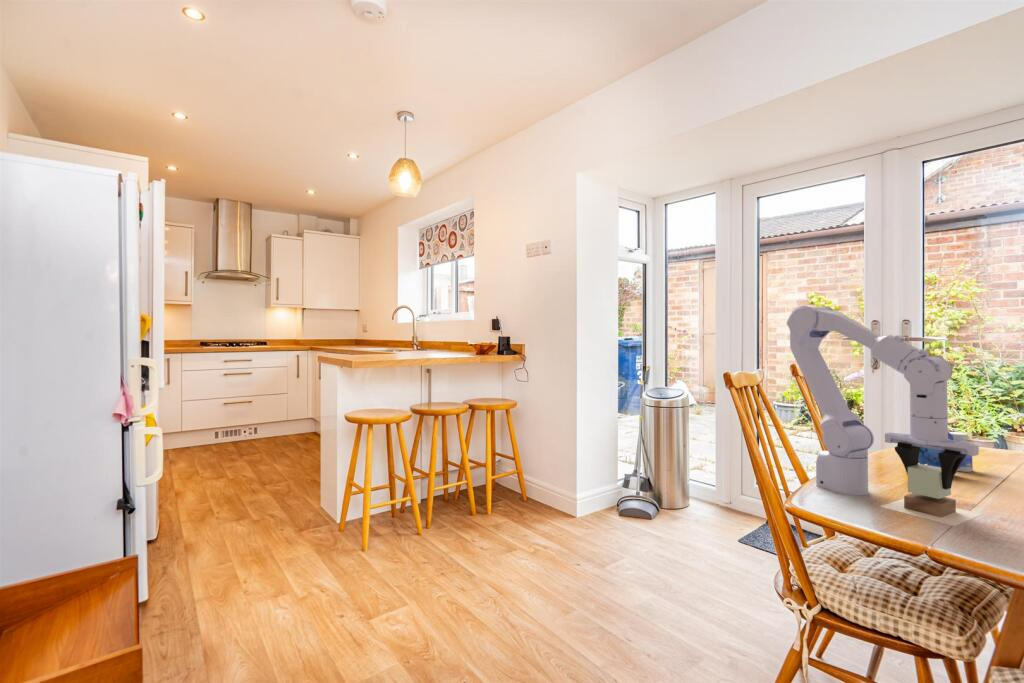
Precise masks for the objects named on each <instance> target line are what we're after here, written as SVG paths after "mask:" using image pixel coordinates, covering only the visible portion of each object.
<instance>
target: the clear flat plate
mask: <svg viewBox="0 0 1024 683" xmlns="http://www.w3.org/2000/svg"><path fill="white" fill-rule="evenodd" d="M879 507H880V508H883V509H887V510H892V511H895V512H899V513H902V514H907V515H910V516H915V517H918V518H922V519H926V520H929V521H932V522H937V523H942V524H944V525H945V524H946V525H949V526H953V527H955V526H957V525H960V524H963V523H966V522H967V521H970V520H973V519H975V518H978V517H979V516H982V515H983V513H979V512H975V511H970V510H966V509H963V508H959V507H956V512H955V513H952V514H950V515H947V516H944V517H942V518H941V517H937V516H933V515H929V514H925V513H921V512H917V511H913V510H909V509H905V508H904V498H902V499H899V500H895V501H892V502H888V503H885V504H883V505H880V506H879Z"/></svg>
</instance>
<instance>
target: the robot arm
mask: <svg viewBox="0 0 1024 683" xmlns="http://www.w3.org/2000/svg"><path fill="white" fill-rule="evenodd" d="M786 325H787V327H788V329H789V344H790V345H789V346H790V347H789V348H790V351H791V354H792V355H793V357H794V359H795V361H796V364H797V365H798V368H799V369H800V371H801V373H802V375H803V378H804V380H805V382H806V384H807V386H808V387H809V390H810V392H811V394H812V396H813V398H814V400H815V403H816V404H817V407H818V409H819V411H820V413H821V414H822V418H821V421H820V423H819V427H820V429H821V431H822V443H823V446H825V448H826V449H827V450H821V451H820V452H819V453H818V454H817V458H816V461H815V462H816V463H815V468H816V469H815V470H816V472H815V474H816V475H815V476H816V478H815V479H816V480H815V481H816V484H815V485H816V486H815V488H822V489H826V490H830V491H833V492H836V493H837V494H838V493H840V494H843V495H850V496H867V495H868V494H869V457H868V455H869V452H868V451H869V449H870V448H871V447H872V446H873V444H874V441H875V439H874V438H875V437H874V434H873V432H872V430H871V429H870V428H869V427H868V426H867V425H865V423H864V422H863V420H861V417H860V416H859V415H858V414H856V413H855V412H854V411H852V410H851V409H850V408H849V406H848V404H847V402H846V401H845V399H844V397H843V395H842V393H841V391H840V389H839V387H838V385H837V383H836V381H835V378H834V377H833V375H832V373H831V371H830V369H829V367H828V365H827V363H826V361H825V360H824V357H823V355H822V353H821V351H820V349H819V347H820V345H821V343H822V342H823V340H824V339H825V338H826V336H828V335H829V334H830V333H831V332H836V333H839V334H840V335H843V336H845V337H846V338H848V339H850V340H852V341H855V342H856V343H858V344H860V345H862V346H864V347H867V348H868V349H870V353H871V356H872V358H874V359H875V360H878V361H879V362H880V363H883V364H885V365H886V366H888V367H890V368H892V369H893V370H895V371H897V372H899V373H900V374H901V375H903V377H904V379H905V380H906V381H907V382H908V383H909V427H910V428H909V434H908V433H898V432H891V431H890V432H889V431H888V432H885V433H884V443H888V444H897V445H896V446H894V450H895V453H896V455H898V457H899V459H900V460H901V462H902V464H903V466H904V468H905V472H906V475H907V476H908V467H910V466H914V465H918V464H919V463H918V458H919V452H920V447H923V448H930V449H936V450H943V451H944V452H942V453H938V456H939V459H940V464H941V473H942V474H941V477H942V486H943V489H949V488H951V489H952V485H953V481H954V477H955V475H956V474H957V473H956V471H957V469H958V467H959V466H960V464H961V462H962V461H963V460H964V458H965V457H966V454H967V455H970V456H972V457H976V456H979V454H980V453H979V452H980V451H979V448H980V446H979V444H977V443H971V442H970V443H971V444H970V443H965V442H960V441H955V440H949V439H948V432H949V428H948V426H949V419H948V418H949V416H948V414H949V413H948V412H949V410H948V408H949V407H948V406H949V405H948V381H949V380H950V379H951V378H952V375H953V367H952V365H951V363H950V362H949V361H948V360H947V359H945V358H944V357H943V356H940V355H936V354H935V355H928V353H929V350H927V349H925V348H917V347H916V346H914V345H912V344H910V343H908V342H906V341H905V340H906V339H905V337H904V336H902V335H893V334H888V335H883V336H881V335H880V334H878V333H876V332H874V331H873V330H871V329H870V328H868V327H866V326H865V325H863V324H861V323H859V322H858V321H856V320H854V319H852V318H851V317H849V316H848V315H846V314H844V313H843V312H842V311H839V310H834V309H833V308H832V307H829V306H826V305H824V306H809V305H799V306H797V307H795V308H793V310H792V311H791V312H790V315H789V317H788V319H787V321H786ZM930 445H933V446H930ZM937 446H939V447H937ZM957 472H958V471H957ZM955 473H956V474H955Z"/></svg>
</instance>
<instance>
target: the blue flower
mask: <svg viewBox="0 0 1024 683" xmlns="http://www.w3.org/2000/svg"><path fill="white" fill-rule="evenodd" d="M949 432H950V431H948V439H949V440H954V438H953V436H952V434H950V433H949ZM930 446H933V445H930ZM937 447H939V446H937ZM942 452H944V451H943V450H936V449H930V448H923V447H920V452H919V458H918V464H923V465H929V466H934V467H940V468H941V464H940V459H939V456H938V453H942ZM966 464H967V461H966V459H965V458H964V460H963V461H962V462H961V464H960V466H959V467H964V466H966ZM958 472H959V471H958V469H957V471H956V473H955V475H956V474H957V473H958Z"/></svg>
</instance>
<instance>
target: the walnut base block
mask: <svg viewBox="0 0 1024 683" xmlns="http://www.w3.org/2000/svg"><path fill="white" fill-rule="evenodd" d="M903 499H904V508H905V509H909V510H913V511H917V512H921V513H925V514H929V515H933V516H937V517H941V518H942V517H944V516H947V515H950V514H952V513H955V512H956V508H957V505H956V503H957V501H956V499H955V498H951V497H948V496H946V497H943V498H940V499H937V498H933V497H928V496H924V495H919V494H915V493H909V494H906V495H903Z"/></svg>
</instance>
